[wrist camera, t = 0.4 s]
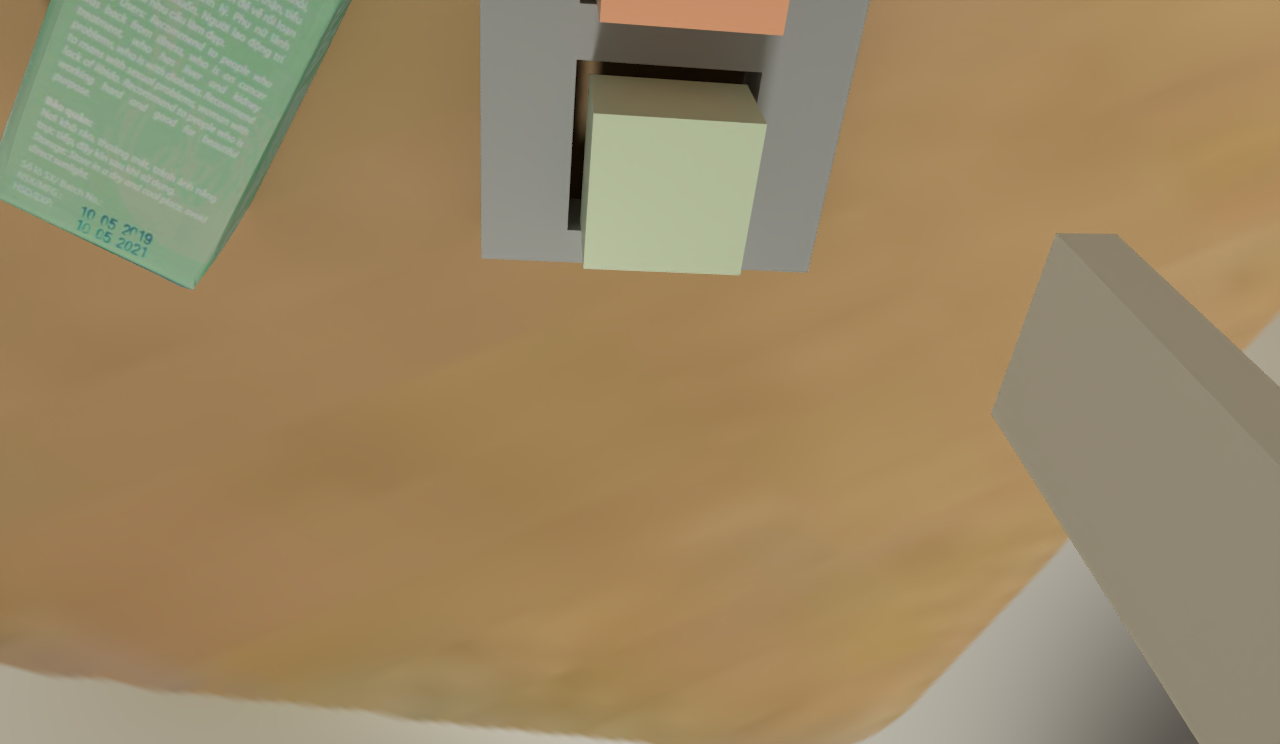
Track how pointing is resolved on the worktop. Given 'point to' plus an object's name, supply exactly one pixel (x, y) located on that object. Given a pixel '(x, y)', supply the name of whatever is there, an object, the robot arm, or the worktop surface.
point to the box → (159, 120)
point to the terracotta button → (699, 14)
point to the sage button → (669, 174)
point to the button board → (571, 30)
